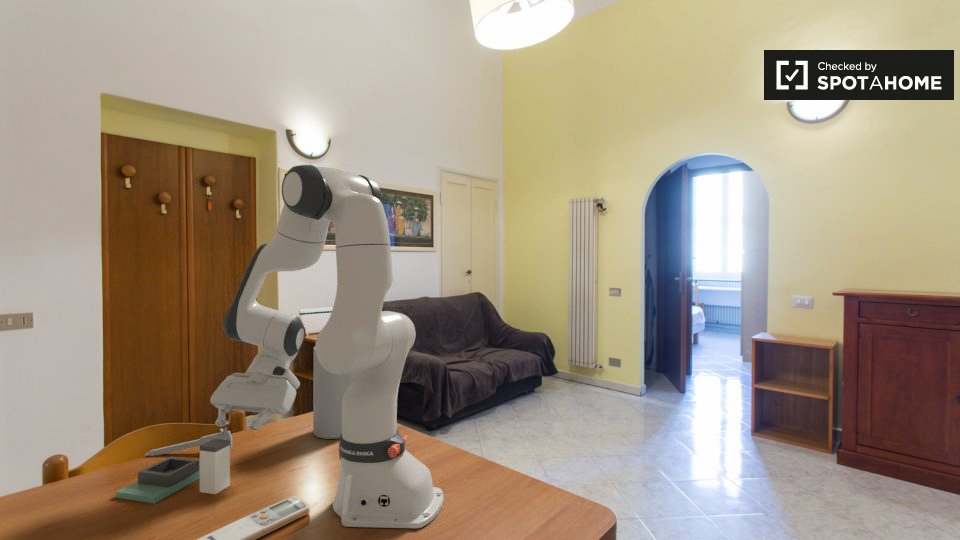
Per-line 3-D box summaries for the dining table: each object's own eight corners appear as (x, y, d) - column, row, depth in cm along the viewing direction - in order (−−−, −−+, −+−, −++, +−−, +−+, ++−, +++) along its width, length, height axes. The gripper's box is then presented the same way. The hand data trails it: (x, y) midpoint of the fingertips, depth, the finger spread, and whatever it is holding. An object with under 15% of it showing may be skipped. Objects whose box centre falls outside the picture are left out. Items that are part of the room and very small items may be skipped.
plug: (229, 485, 99) (229, 440, 99) (215, 494, 95) (215, 447, 95) (214, 483, 100) (214, 438, 100) (199, 492, 96) (199, 445, 96)
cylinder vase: (314, 426, 135) (314, 343, 135) (357, 422, 139) (357, 342, 138) (311, 442, 123) (312, 351, 123) (358, 437, 127) (359, 349, 126)
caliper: (232, 450, 118) (232, 426, 118) (231, 451, 117) (230, 428, 117) (145, 455, 114) (145, 431, 114) (143, 457, 113) (143, 433, 113)
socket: (216, 468, 107) (216, 453, 107) (154, 503, 91) (154, 485, 91) (182, 464, 109) (182, 449, 109) (115, 497, 93) (115, 479, 93)
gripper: (223, 365, 113) (190, 416, 104) (295, 370, 108) (267, 425, 99) (237, 378, 117) (206, 429, 108) (306, 384, 113) (280, 437, 103)
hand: (236, 427), depth 104 cm, fingers open, 8 cm apart
